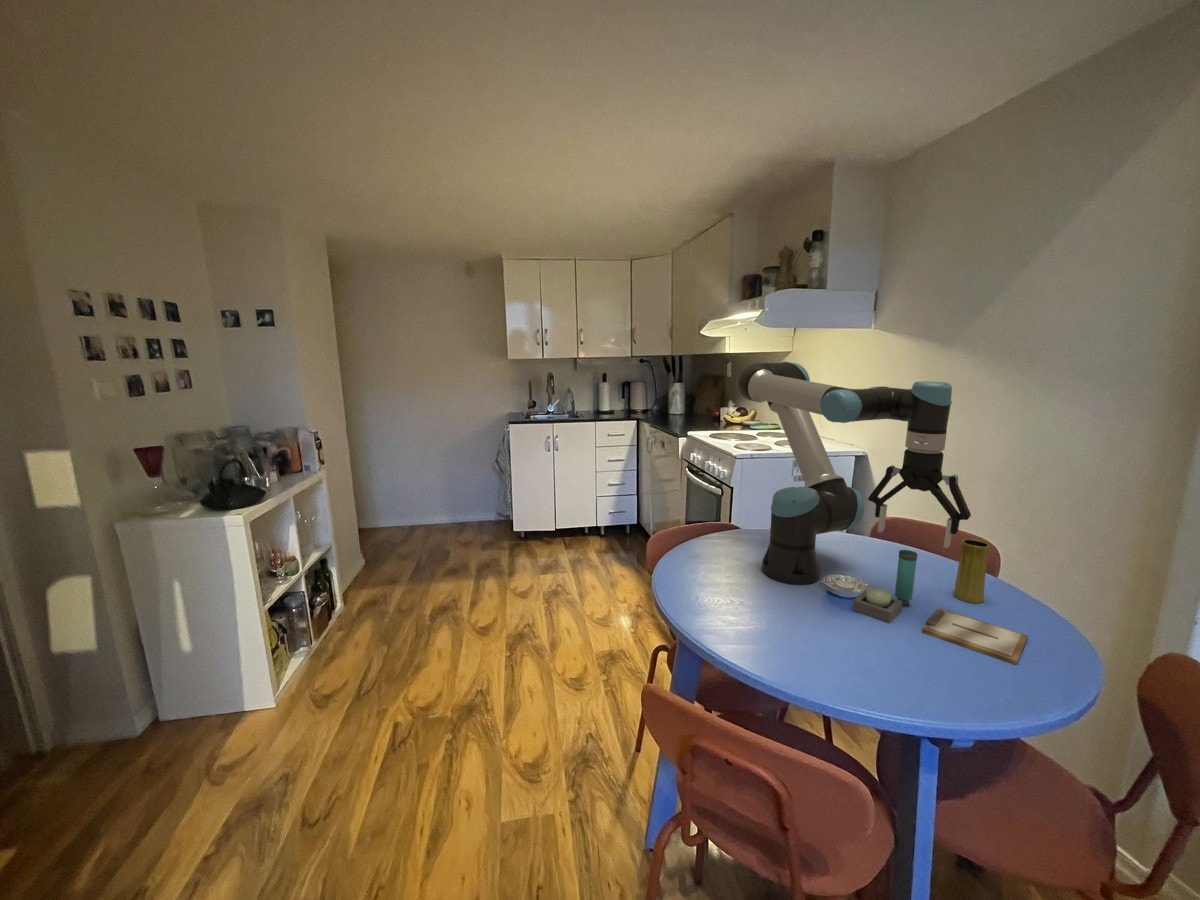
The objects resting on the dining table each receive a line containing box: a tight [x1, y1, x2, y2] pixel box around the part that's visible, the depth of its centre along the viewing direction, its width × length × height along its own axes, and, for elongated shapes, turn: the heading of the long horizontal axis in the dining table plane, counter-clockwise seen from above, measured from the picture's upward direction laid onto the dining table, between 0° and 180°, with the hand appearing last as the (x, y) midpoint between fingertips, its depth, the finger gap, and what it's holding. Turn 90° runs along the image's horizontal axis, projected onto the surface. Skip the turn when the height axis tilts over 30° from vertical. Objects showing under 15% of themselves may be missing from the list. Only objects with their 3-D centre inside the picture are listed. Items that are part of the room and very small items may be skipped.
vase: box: [952, 538, 990, 604], centre depth 121 cm, size 6×6×14 cm
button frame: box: [852, 589, 903, 624], centre depth 117 cm, size 8×8×2 cm
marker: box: [894, 549, 918, 607], centre depth 119 cm, size 4×4×13 cm
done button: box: [866, 586, 892, 609], centre depth 116 cm, size 5×5×3 cm
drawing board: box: [921, 607, 1029, 666], centre depth 106 cm, size 16×13×1 cm
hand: (912, 538), depth 117 cm, fingers open, 13 cm apart
